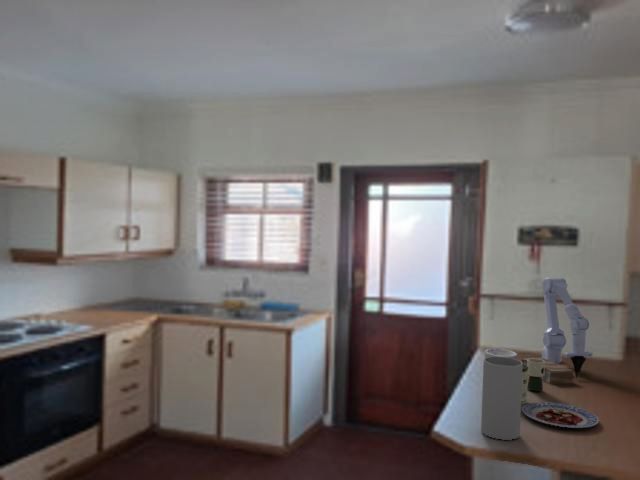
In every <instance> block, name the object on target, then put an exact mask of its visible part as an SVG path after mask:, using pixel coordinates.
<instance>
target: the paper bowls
mask: <svg viewBox="0 0 640 480" xmlns="http://www.w3.org/2000/svg"><path fill="white" fill-rule="evenodd" d="M486 357H508V358H513V359H517V360H518V354H517V352H515V351H512V350H510V349H505V348H487V349H485V350H484V358H486Z"/></svg>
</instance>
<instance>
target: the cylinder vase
mask: <svg viewBox="0 0 640 480" xmlns="http://www.w3.org/2000/svg"><path fill="white" fill-rule="evenodd" d="M482 364H483V372H482V392H481V393H482V396H481V422H480V424H481V425H480V429H481V430H480V431H481V433H482V434H483V433H484V434H485V435H484V434H483V435H484V436H486V435H487V436H489V437H488V438H490V437H492V438H491V439H493V438H496V439H495V440H497V439H502V440H501V441H504V440H509V441H513V440H512V439H515V440H516V438H517V439H519V437H520V434H521V418H522V417H521V413H522V411H521V410H522V404H521V392H522V367H523V363H522V360H519V359H518V358H517V359H513V358H508V357H486V358H485V357H484V358H483V363H482ZM487 436H486V437H487Z"/></svg>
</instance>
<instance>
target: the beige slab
mask: <svg viewBox="0 0 640 480" xmlns="http://www.w3.org/2000/svg"><path fill="white" fill-rule="evenodd" d="M531 358H532V357H526V358H525V357H524V358H521V362H522V363H523V365H526V366H527V359H531ZM533 358H534V359H541V360H544V361H545V375H544V376H542V377H541V378H542V381H543V380H544V381H543V382H546V383H548V384H550V385H559V384H573V381H574V380H573V379H574V378H573V370H571V369H569V368H566V367H564V366H561V365H559V364H556V363H554V362H552V361H549V360H547V359H544V358H542V357H533Z"/></svg>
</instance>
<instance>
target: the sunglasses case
mask: <svg viewBox="0 0 640 480" xmlns="http://www.w3.org/2000/svg"><path fill="white" fill-rule="evenodd" d="M559 365H561V366H564V367H566V368H569V369H571V370H573V379H576V380H577V374H576V373H577V372H575V369H574V366H573V367H572V366H571V365H569V364H568V363H566V362H565V361H561V362H560V363H559Z"/></svg>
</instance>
